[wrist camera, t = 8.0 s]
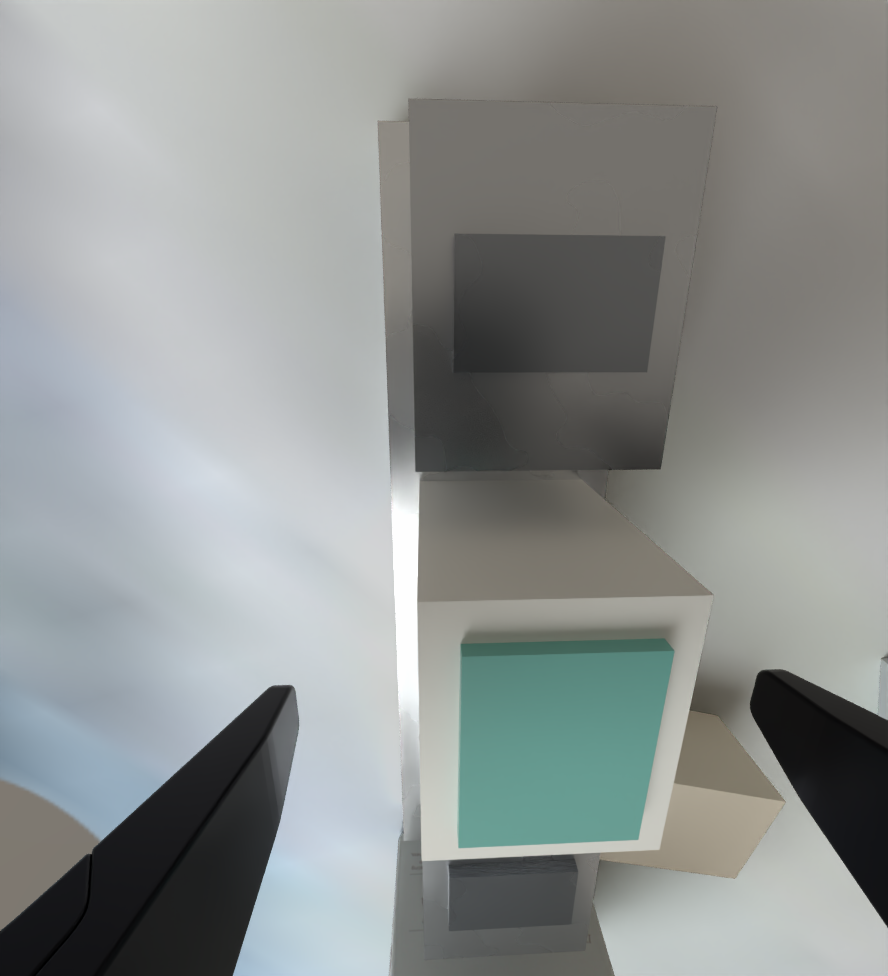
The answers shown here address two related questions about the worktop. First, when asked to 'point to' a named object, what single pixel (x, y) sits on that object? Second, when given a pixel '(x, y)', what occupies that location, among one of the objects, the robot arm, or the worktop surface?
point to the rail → (525, 379)
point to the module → (547, 671)
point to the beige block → (711, 805)
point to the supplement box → (526, 972)
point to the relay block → (883, 689)
